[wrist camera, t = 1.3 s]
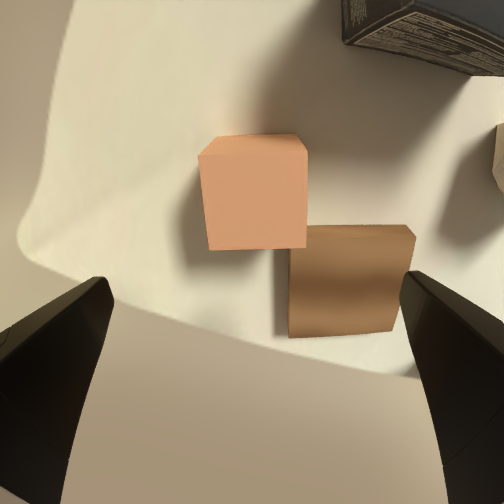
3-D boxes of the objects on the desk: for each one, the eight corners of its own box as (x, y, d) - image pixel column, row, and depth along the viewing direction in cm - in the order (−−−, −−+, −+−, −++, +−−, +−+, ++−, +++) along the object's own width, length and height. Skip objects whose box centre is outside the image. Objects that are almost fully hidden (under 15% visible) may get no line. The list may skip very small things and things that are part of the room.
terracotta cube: (295, 205, 21) (306, 247, 16) (223, 207, 21) (209, 250, 16) (295, 133, 18) (307, 151, 13) (217, 136, 19) (197, 155, 14)
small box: (469, 3, 12) (566, -13, 3) (473, 77, 15) (579, 96, 6) (337, -37, 12) (390, -115, 3) (340, 46, 15) (413, 10, 6)
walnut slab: (385, 316, 26) (392, 331, 24) (287, 321, 26) (288, 338, 24) (405, 224, 21) (416, 236, 19) (288, 226, 22) (290, 239, 20)
